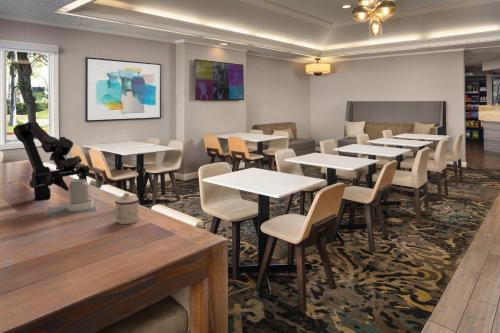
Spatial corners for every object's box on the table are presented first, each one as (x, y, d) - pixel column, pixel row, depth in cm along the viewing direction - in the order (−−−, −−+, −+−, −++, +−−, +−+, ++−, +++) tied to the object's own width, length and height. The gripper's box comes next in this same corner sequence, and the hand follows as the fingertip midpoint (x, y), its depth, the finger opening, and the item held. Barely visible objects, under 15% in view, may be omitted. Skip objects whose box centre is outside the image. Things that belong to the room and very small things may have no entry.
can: (77, 209, 166) (74, 182, 164) (67, 206, 170) (65, 180, 168) (92, 205, 172) (90, 179, 170) (83, 202, 176) (81, 177, 174)
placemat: (47, 218, 157) (47, 217, 157) (48, 208, 171) (48, 207, 171) (96, 212, 165) (96, 211, 165) (94, 203, 179) (94, 202, 179)
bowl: (67, 212, 164) (66, 205, 163) (67, 206, 174) (66, 199, 173) (95, 209, 168) (94, 202, 168) (93, 203, 178) (92, 197, 178)
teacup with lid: (127, 216, 160) (126, 189, 158) (144, 219, 156) (143, 191, 154) (105, 224, 149) (103, 196, 147) (123, 228, 145) (121, 198, 143)
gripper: (47, 153, 162) (64, 181, 158) (86, 148, 178) (102, 174, 174) (39, 169, 168) (55, 196, 164) (77, 163, 183) (93, 188, 179)
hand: (77, 188), depth 170 cm, fingers open, 9 cm apart
